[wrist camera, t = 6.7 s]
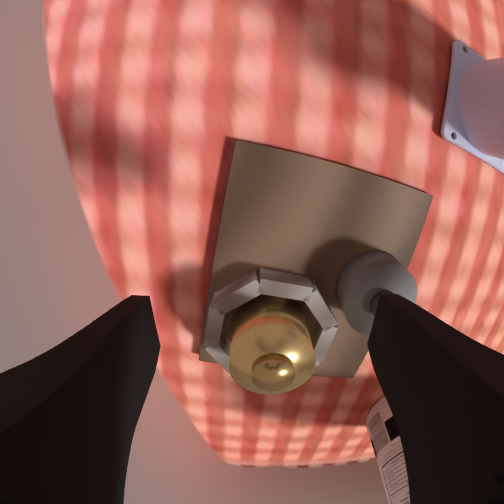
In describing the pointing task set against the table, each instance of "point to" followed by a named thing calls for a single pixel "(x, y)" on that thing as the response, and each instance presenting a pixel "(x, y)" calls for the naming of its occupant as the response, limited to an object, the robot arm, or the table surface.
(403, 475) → the supplement can
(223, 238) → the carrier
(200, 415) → the table surface
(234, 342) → the brass knob
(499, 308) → the table surface
